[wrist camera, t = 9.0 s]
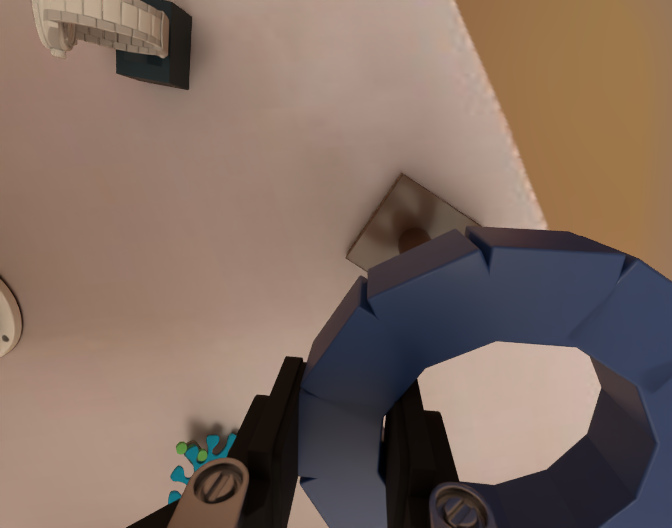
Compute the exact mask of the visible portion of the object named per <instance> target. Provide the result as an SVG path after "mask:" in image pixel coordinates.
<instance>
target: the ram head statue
mask: <svg viewBox="0 0 672 528" xmlns="http://www.w3.org/2000/svg"><path fill="white" fill-rule="evenodd" d="M31 2H32V9H33V15H34V20H35V25H36V28H37V32H38V35H39V37H40V40H41V42H42V44H43V45H44V46H45V47H46V48H49V49H51V55H52V56H55V57H58V58H63V59H66V52H64V51H70V50H72V48H73V46H74V45H77V39H79V40H83V41H85V42H89V43H93V44H98V38H99V45H100V46H105V47H109V48H114V49H116V74H120V75H123V76H126V77H129V78H133V79H136V80H139V81H144V82H149V83H154V84H159V85H165V86H170V87H175V88H181V89H186V90H188V89H189V68H190V47H191V26H192V17H191V16H190V15H189V14H187V13H186V12H185V11H183V10H182V9H181V8H179V7H178V6H177V5H176V4H174V3H173V2H170V1H165V0H103V11H102V0H31ZM103 30H104V39H103ZM88 34H89V35H88ZM53 48H54V49H53Z"/></svg>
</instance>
